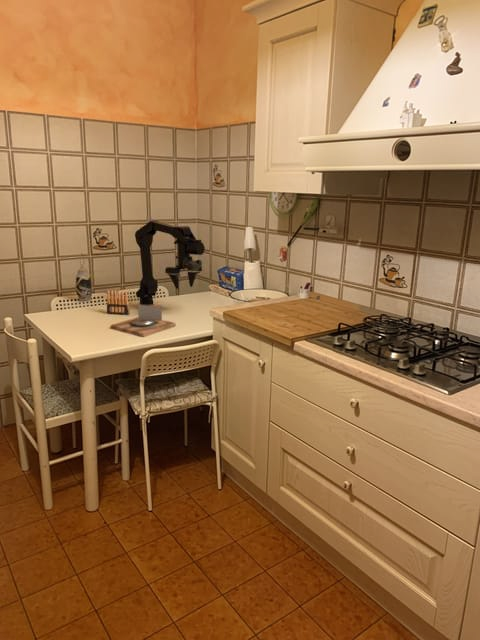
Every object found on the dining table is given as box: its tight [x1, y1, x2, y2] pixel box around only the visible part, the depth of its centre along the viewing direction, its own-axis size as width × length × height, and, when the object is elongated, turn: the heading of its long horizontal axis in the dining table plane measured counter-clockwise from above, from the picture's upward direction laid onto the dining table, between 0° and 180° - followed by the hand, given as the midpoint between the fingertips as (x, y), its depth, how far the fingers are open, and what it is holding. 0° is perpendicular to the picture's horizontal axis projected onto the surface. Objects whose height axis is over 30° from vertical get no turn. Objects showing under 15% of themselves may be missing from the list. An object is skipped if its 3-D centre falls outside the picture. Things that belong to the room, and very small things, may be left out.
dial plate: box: [110, 316, 177, 338], centre depth 218 cm, size 20×20×2 cm
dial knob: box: [132, 303, 163, 326], centre depth 217 cm, size 13×10×8 cm
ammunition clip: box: [106, 289, 130, 316], centre depth 237 cm, size 11×2×12 cm, turn 83°
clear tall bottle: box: [75, 253, 93, 302], centre depth 260 cm, size 9×8×25 cm
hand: (184, 287), depth 230 cm, fingers open, 9 cm apart
